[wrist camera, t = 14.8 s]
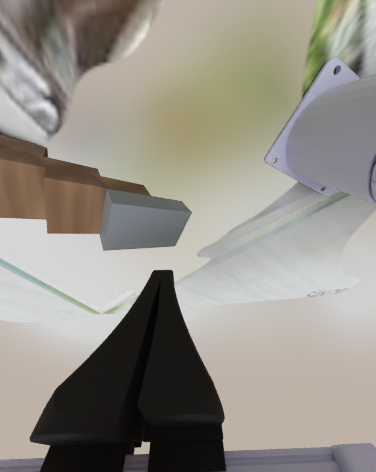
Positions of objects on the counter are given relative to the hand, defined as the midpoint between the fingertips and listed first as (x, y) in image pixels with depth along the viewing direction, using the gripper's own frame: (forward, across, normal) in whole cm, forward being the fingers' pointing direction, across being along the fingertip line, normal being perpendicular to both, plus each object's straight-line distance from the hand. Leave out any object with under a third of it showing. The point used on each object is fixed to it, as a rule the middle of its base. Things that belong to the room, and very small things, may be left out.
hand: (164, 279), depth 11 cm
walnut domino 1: (+9, +8, -3) cm, 12 cm away
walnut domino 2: (+9, +3, -1) cm, 10 cm away
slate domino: (+9, -1, 0) cm, 9 cm away
